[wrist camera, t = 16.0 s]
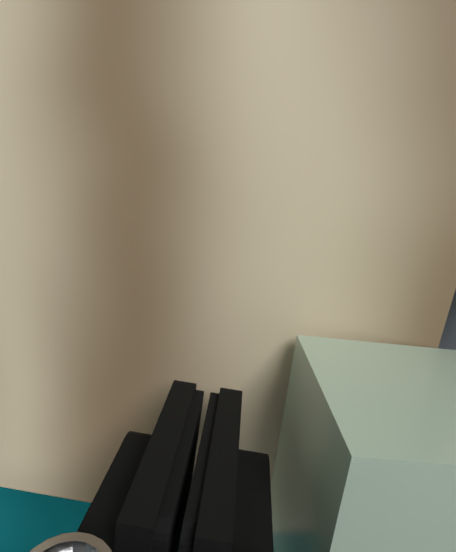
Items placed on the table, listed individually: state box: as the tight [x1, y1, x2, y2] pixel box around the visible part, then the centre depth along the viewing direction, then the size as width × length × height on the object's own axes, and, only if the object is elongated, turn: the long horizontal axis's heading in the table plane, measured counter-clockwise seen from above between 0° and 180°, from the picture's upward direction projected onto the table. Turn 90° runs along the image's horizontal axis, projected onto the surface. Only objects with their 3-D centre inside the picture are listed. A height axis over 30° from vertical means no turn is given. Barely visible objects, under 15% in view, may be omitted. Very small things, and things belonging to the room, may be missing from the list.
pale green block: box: [271, 335, 456, 552], centre depth 8 cm, size 6×6×4 cm
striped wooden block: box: [0, 0, 456, 503], centre depth 12 cm, size 15×16×6 cm
